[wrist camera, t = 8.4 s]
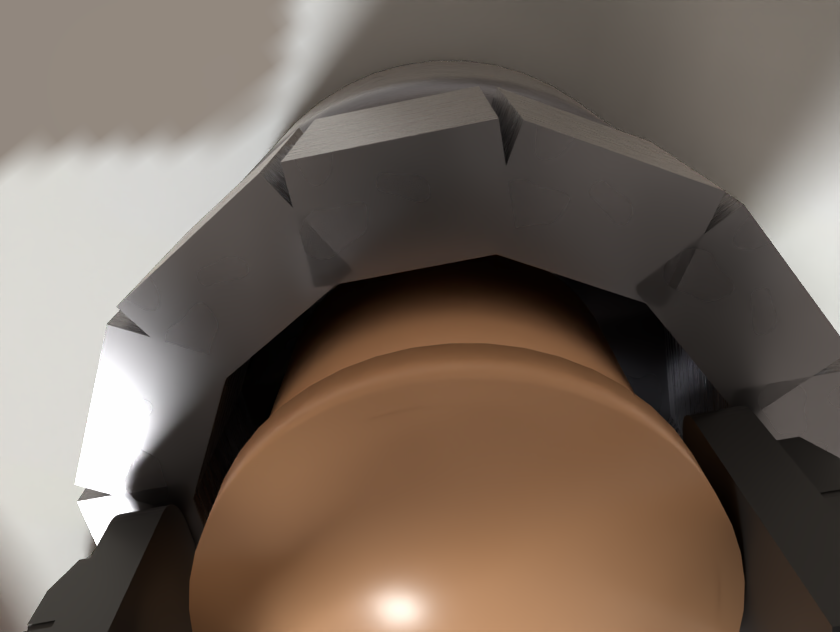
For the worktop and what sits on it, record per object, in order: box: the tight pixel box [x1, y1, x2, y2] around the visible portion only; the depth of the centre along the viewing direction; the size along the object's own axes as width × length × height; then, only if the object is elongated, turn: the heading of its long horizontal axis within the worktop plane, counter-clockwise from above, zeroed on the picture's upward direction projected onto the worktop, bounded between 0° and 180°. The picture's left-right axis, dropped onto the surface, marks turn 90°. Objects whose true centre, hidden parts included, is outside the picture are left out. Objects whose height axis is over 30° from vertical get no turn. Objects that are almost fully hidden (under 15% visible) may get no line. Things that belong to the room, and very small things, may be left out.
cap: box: [189, 254, 745, 632], centre depth 11 cm, size 6×6×5 cm
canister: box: [75, 61, 840, 548], centre depth 14 cm, size 10×10×9 cm
